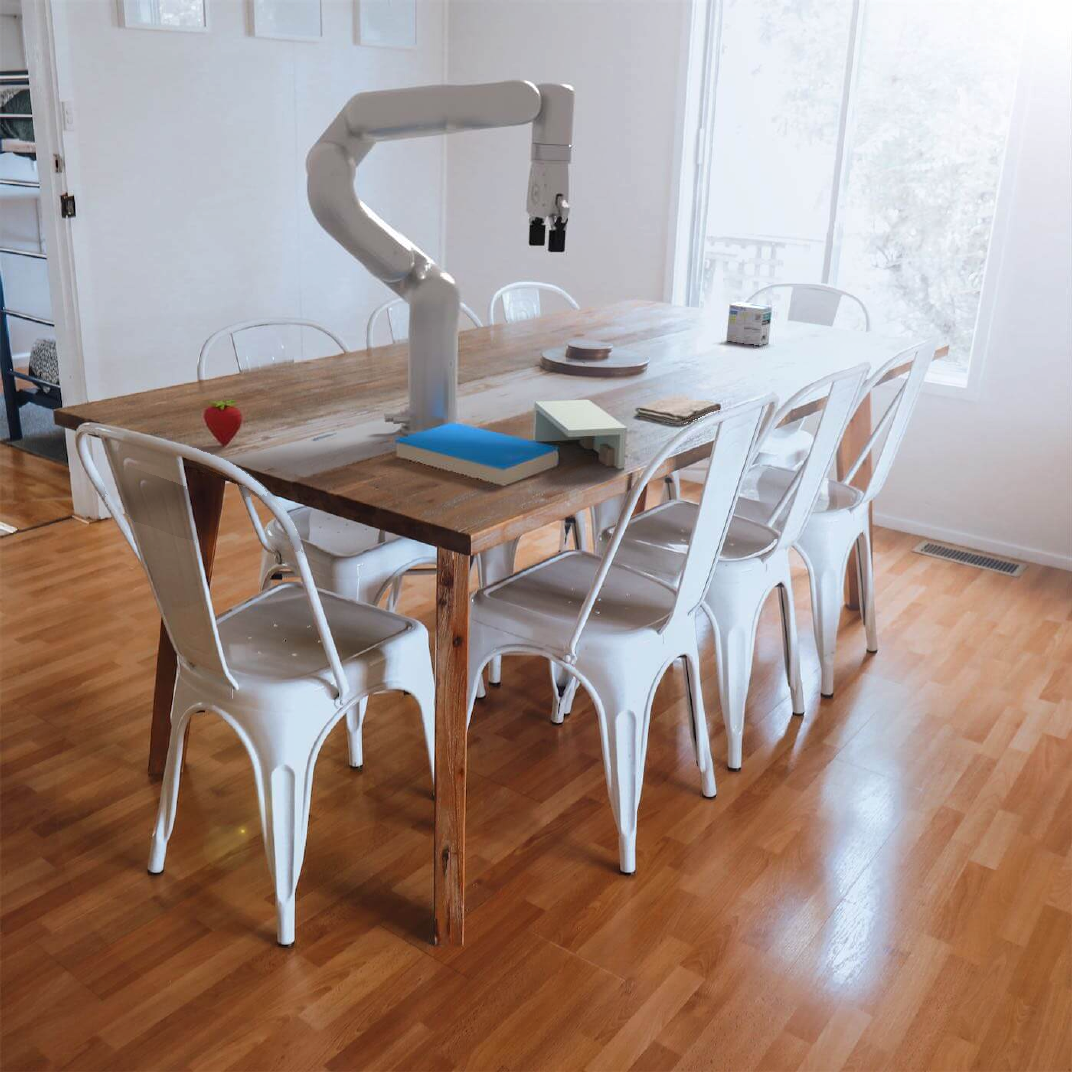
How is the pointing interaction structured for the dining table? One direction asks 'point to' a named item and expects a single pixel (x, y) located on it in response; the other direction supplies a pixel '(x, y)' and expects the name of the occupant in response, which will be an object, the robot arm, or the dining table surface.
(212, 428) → the strawberry
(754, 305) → the light bulb box
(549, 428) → the shelf
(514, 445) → the book
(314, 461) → the dining table surface
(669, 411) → the washcloth
